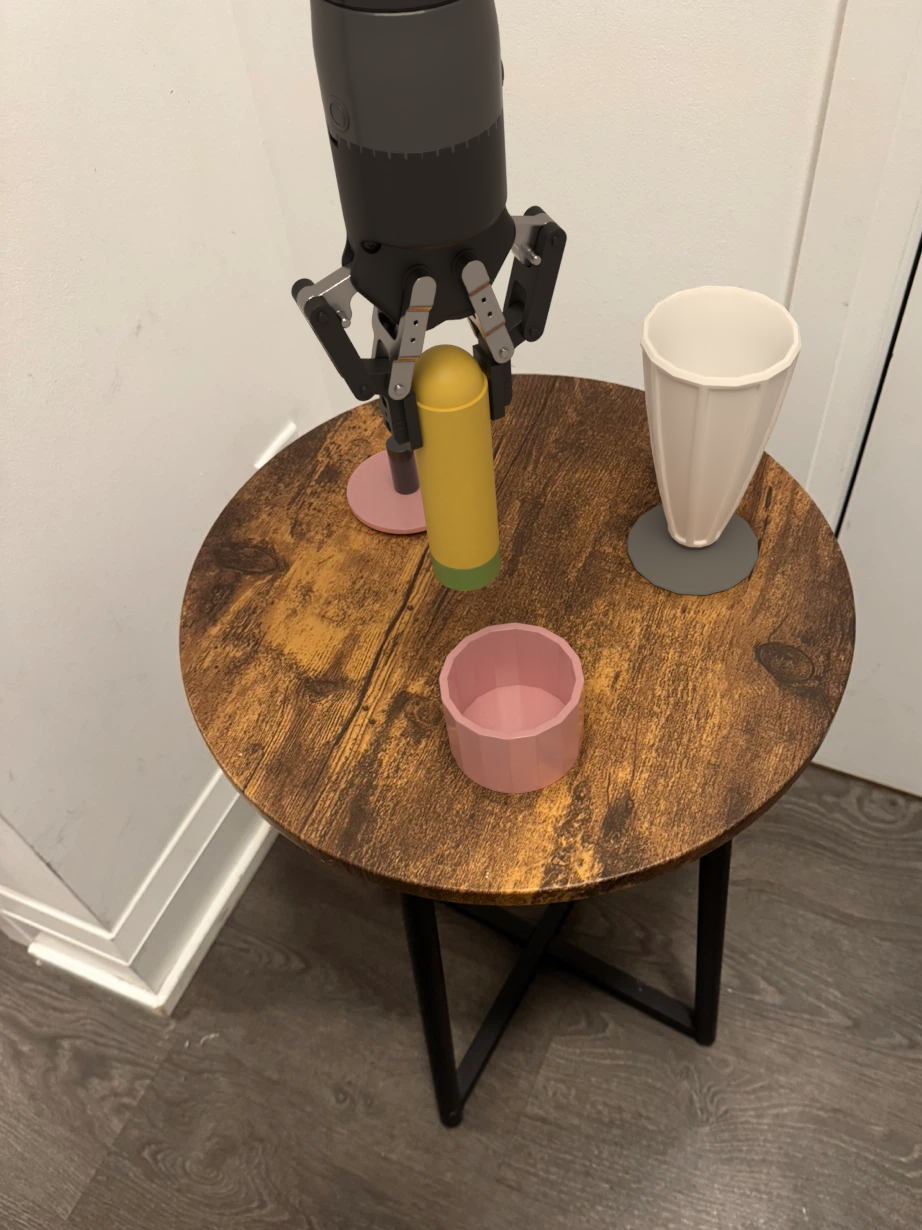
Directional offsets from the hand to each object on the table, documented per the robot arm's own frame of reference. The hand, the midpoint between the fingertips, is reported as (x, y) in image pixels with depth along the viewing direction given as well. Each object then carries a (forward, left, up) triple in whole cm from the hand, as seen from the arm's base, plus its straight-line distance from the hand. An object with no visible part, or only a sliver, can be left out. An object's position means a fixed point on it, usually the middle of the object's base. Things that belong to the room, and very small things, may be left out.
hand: (450, 424), depth 57 cm
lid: (-4, +26, -28) cm, 38 cm away
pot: (+2, -2, -29) cm, 29 cm away
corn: (0, 0, -11) cm, 11 cm away
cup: (+20, +15, -29) cm, 38 cm away
